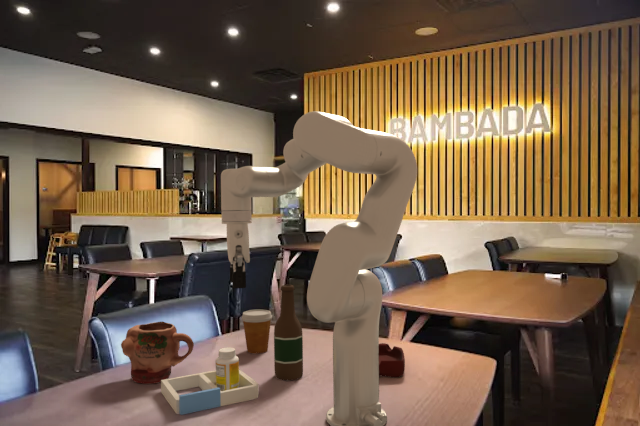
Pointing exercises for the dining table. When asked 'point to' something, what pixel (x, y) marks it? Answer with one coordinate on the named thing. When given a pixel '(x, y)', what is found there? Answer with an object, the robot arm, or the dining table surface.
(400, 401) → the dining table surface
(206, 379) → the white divided tray
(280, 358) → the beer bottle
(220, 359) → the supplement bottle
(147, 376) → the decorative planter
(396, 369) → the ashtray
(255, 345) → the disposable coffee cup
